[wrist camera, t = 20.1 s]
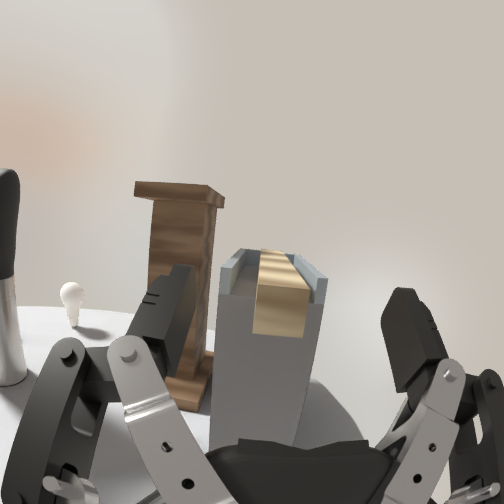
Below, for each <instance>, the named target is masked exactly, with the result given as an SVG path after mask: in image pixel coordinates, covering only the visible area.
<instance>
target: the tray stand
mask: <svg viewBox="0 0 504 504" xmlns="http://www.w3.org/2000/svg"><path fill="white" fill-rule="evenodd" d="M284 254H285V255H286V257H287V258H288V259H289V261H290V262H291V264H292V265H293V266H294V268H295V269H296V270H297V272H298V273H299V274H300V276H301V277H302V278H303V280H304V281H305V283H306V284H307V285H308V287H309V288H310V296H309V302H308V309H307V315H306V321H305V327H304V333H303V338H296V337H284V336H273V335H263V334H254V333H252V331H253V322H254V312H255V303H256V293H257V283H258V273H259V264H260V255H261V251H259V250H250V249H239V250H238V251H237V252H236V253H235V254H234V255H233V256H232V257H231V258H230V259H229V260H228V261H227V262H226V263H225V264H224V265H223V266H222V267H221V272H220V283H219V295H218V308H217V319H216V333H215V346H214V361H213V376H212V393H211V412H210V433H209V451H212V450H214V449H217V448H220V447H224V446H228V445H236V444H238V438H242V439H251V440H263V441H274V442H277V443H280V444H284V445H288V446H291V447H292V446H293V443H294V439H295V436H296V432H297V428H298V425H299V421H300V417H301V413H302V409H303V405H304V401H305V397H306V393H307V388H308V384H309V380H310V375H311V370H312V366H313V361H314V356H315V351H316V346H317V341H318V335H319V331H320V325H321V320H322V314H323V308H324V302H325V296H326V289H327V282H328V278H326V277H325V276H324V275H323V274H322V273H321V272H319V271H318V270H317V269H316V268H315V267H314V266H312V265H311V264H310V263H309V262H308V261H306V260H305V259H303V257H302V256H300V255H295V254H287V253H284Z"/></svg>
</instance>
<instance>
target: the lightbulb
mask: <svg viewBox="0 0 504 504" xmlns="http://www.w3.org/2000/svg"><path fill="white" fill-rule="evenodd" d="M60 297H61V300H62V302H63V304H64V306H65V308H66V311H67V316H68V320H69V324H70V325H71V326H72V327H76V326H77V325H78V317H79V309H80V306H81V304H82V302H83V299H84V293H83V290H82V288H81V287H80V286H79V285H78V284H76V283H74V282H69V283H66V284H65V285H64V286H63V287H62V289H61V292H60Z"/></svg>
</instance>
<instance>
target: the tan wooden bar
mask: <svg viewBox="0 0 504 504" xmlns="http://www.w3.org/2000/svg"><path fill="white" fill-rule="evenodd" d="M309 296H310V288H309V287H308V285H307V284H306V283H305V281H304V280H303V278H302V277H301V276H300V274H299V273H298V272H297V270H296V269H295V268H294V266H293V265H292V264H291V262H290V261H289V259H288V258H287V257H286V255H285V254H284V253H283V251H275V250H266V249H261V255H260V264H259V273H258V283H257V293H256V303H255V312H254V322H253V331H252V333H254V334H263V335H273V336H284V337H296V338H303V333H304V327H305V321H306V315H307V309H308V302H309Z"/></svg>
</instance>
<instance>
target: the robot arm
mask: <svg viewBox="0 0 504 504" xmlns="http://www.w3.org/2000/svg"><path fill="white" fill-rule="evenodd" d="M19 202H20V182H19V178H18V175H17V173H16V172H15V171H14V170H11V169H0V386H8V385H13V384H16V383H18V382H20V381H22V380H23V379H24V378H25V377H26V375H27V367H26V363H25V358H24V353H23V347H22V342H21V336H20V330H19V323H18V315H17V307H16V296H15V284H14V258H15V249H16V228H17V219H18V211H19ZM196 303H197V287H196V273H195V266H194V265H186V264H178V263H175V264H174V266H173V268H172V270H171V272H170V274H169V276H167V275H160V276H159V277H157V278H156V279H155V280H154V281H153V282H152V283H151V284H150V286H149V288H148V290H147V292H146V295H145V296H144V298H143V300H142V303H141V304H140V306H139V308H138V310H137V312H136V314H135V316H134V318H133V320H132V323H131V325H130V327H129V329H128V331H127V333H126V335H125V336H122V337H120V338H118V339H116V340H115V341H113V342H112V343H111V345H110V346H107V347H90V348H85V347H84V345H83V344H82V342H81V341H80V340H78V339H76V338H72V337H69V338H64V339H61V340H60V341H58V342H57V343H56V344H55V345H54V346H53V347H52V349H51V351H50V353H49V355H48V357H47V359H46V361H45V363H44V366H43V368H42V370H41V372H40V374H39V377H38V379H37V381H36V383H35V386H34V388H33V390H32V393H31V395H30V398H29V400H28V403H27V405H26V408H25V410H24V413H23V416H22V418H21V421H20V424H19V427H18V430H17V433H16V436H15V439H14V442H13V445H12V448H11V452H10V455H9V459H8V462H7V466H6V470H5V474H4V478H3V483H2V487H1V499H2V502H3V504H99V495H98V492H97V490H96V488H95V486H94V485H93V484H92V483H91V482H90V481H89V480H88V478H89V473H90V469H91V465H92V460H93V456H94V452H95V448H96V444H97V441H98V437H99V433H100V429H101V426H102V422H103V419H104V415H105V412H106V409H107V405H108V402H122V404H123V407H124V410H125V413H124V417H125V420H126V423H127V426H128V428H129V431H130V433H131V435H132V438H133V440H134V442H135V445H136V447H137V449H138V451H139V453H140V456H141V458H142V460H143V462H144V464H145V466H146V468H147V470H148V472H149V474H150V476H151V478H152V480H153V482H154V484H155V485H156V487H157V490H156V491H154V492H153V493H152V494H150V495H149V496H147V497H146V498H144V499H143V500H141V501H140V502H138V503H137V504H437V503H436V502H435V501H434V500H433V499H431V495H432V493H433V491H434V489H435V487H436V485H437V482H438V481H439V478H440V476H441V474H442V472H443V470H444V467H445V465H446V462H447V460H448V459H449V469H450V483H451V496H450V498H449V500H447V501H446V502H445V503H444V504H504V386H503V384H502V381H501V378H500V376H499V375H498V374H497V373H496V372H495V371H493V370H491V369H486V370H484V371H483V372H482V373H481V374H480V375H479V376H474V375H470V374H466V373H465V371H464V369H463V367H462V366H461V365H460V364H459V363H458V362H457V361H455V360H453V359H449V357H448V354H447V352H446V349H445V346H444V344H443V341H442V339H441V336H440V334H439V331H438V330H437V326H436V324H435V322H434V319H433V317H432V314H431V312H430V310H429V309H428V308H427V307H426V305H425V304H424V303H423V302H422V301H420V300H419V298H418V296H417V294H416V292H415V290H414V289H412V288H400V287H397V288H395V290H394V291H393V293H392V296H391V297H390V299H389V301H388V304H387V306H386V307H385V309H384V311H383V314H382V317H381V329H382V333H383V337H384V340H385V344H386V348H387V352H388V356H389V360H390V364H391V369H392V373H393V377H394V382H395V387H396V392H397V393H403V392H407V395H408V397H407V398H406V399H405V400H404V402H403V404H402V406H401V408H400V410H399V412H398V414H397V416H396V418H395V420H394V421H393V423H392V425H391V427H390V428H389V430H388V432H387V434H386V435H385V436H384V438H383V439H382V440H381V441H380V442H379V443H378V444H377V445H376V447H375V448H371V447H369V442H368V440H359V441H343V442H336V443H333V444H329V445H326V446H322V447H318V448H314V449H310V450H303V449H299V448H295V447H291V446H288V445H284V444H280V443H277V442H274V441H263V440H251V439H242V438H238V444H236V445H228V446H224V447H220V448H217V449H214V450H212V451H210V452H208V453H206V454H204V453H203V451H202V450H201V448H200V446H199V445H198V443H197V441H196V440H195V438H194V436H193V435H192V433H191V431H190V429H189V428H188V426H187V424H186V422H185V420H184V418H183V417H182V415H181V413H180V411H179V409H178V407H177V405H176V403H175V402H174V400H173V398H172V397H171V395H170V394H169V392H168V390H167V388H166V385H165V383H164V382H165V378H166V376H167V377H172V378H175V375H176V372H177V368H178V365H179V361H180V358H181V355H182V351H183V348H184V345H185V341H186V338H187V335H188V331H189V328H190V325H191V322H192V319H193V315H194V312H195V309H196ZM477 414H479V417H480V421H481V425H482V431H483V438H482V441H481V442H480V444H477V438H476V433H475V427H474V422H473V418H474V417H475V416H476V415H477Z"/></svg>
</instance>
